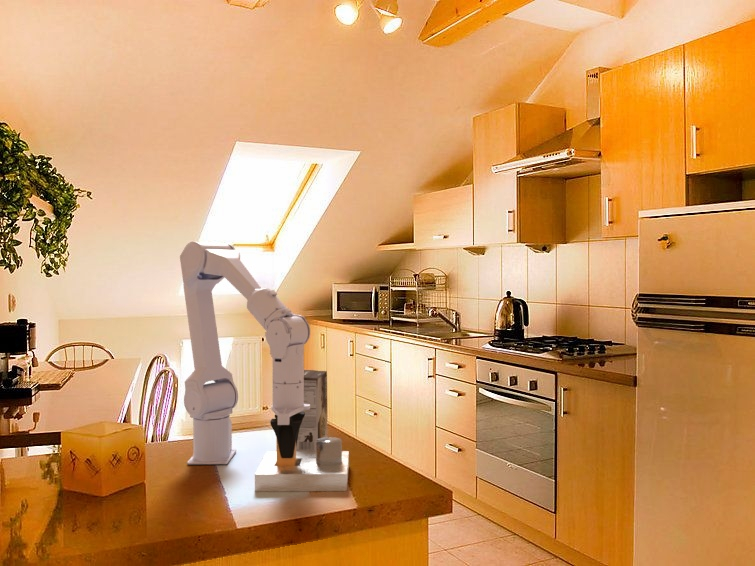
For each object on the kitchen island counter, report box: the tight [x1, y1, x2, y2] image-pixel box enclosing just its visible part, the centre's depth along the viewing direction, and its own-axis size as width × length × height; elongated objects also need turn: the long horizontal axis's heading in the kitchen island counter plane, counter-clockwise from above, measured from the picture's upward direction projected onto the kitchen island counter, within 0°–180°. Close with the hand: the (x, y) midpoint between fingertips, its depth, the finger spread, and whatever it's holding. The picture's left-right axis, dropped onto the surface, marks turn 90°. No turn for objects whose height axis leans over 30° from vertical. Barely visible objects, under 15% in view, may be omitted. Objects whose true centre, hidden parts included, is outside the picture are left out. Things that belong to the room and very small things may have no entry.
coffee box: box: [296, 369, 328, 451], centre depth 140 cm, size 9×6×16 cm
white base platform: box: [254, 436, 350, 492], centre depth 120 cm, size 14×16×7 cm
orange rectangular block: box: [275, 436, 296, 466], centre depth 119 cm, size 3×3×7 cm
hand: (288, 454), depth 119 cm, fingers closed on orange rectangular block, 3 cm apart
